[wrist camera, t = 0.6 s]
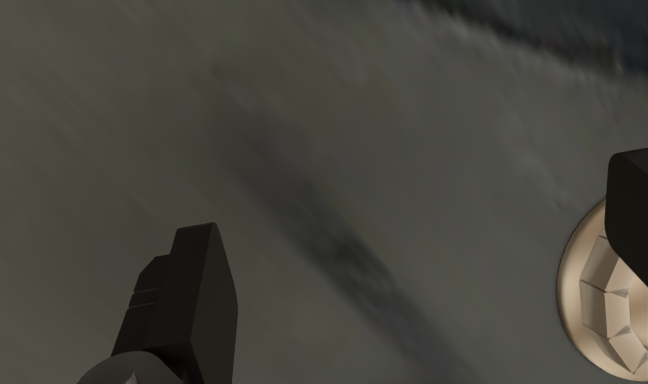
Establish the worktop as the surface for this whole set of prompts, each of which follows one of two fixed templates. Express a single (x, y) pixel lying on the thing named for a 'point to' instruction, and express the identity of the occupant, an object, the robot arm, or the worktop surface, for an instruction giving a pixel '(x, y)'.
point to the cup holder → (603, 302)
